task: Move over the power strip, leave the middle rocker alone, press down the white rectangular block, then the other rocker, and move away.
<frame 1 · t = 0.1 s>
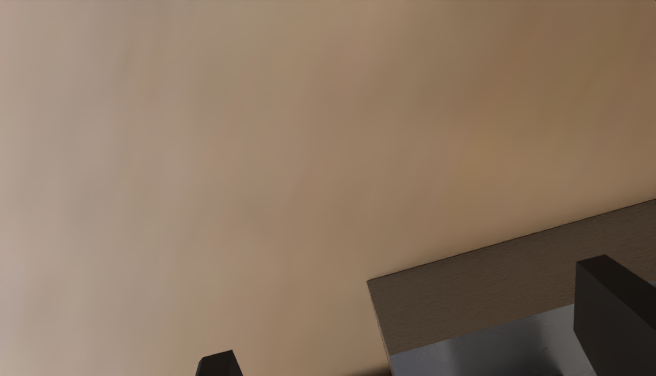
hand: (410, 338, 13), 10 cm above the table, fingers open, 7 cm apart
power strip: (619, 308, 29), on the table
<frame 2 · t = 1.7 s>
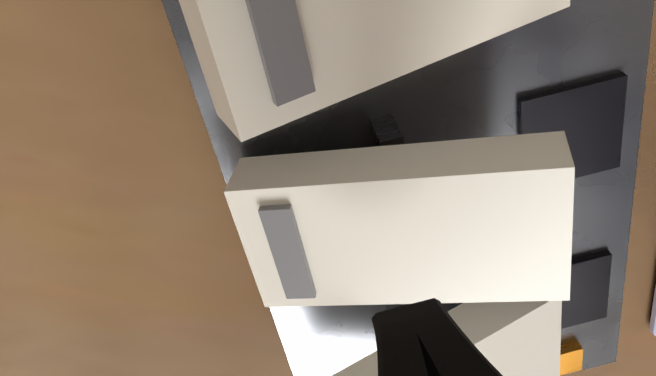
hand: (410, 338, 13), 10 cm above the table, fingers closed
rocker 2: (400, 229, 16), point 6 cm above the table, hinge at 18.0°
power strip: (405, 104, 21), on the table
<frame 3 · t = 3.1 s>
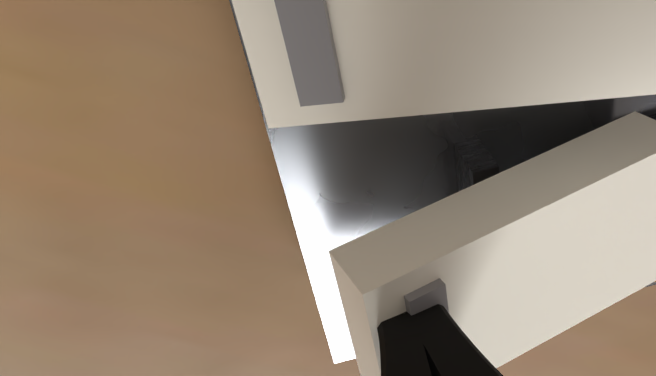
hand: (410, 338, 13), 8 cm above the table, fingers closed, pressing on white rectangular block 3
white rectangular block 3: (520, 265, 14), point 6 cm above the table, hinge at -16.6°, touching gripper
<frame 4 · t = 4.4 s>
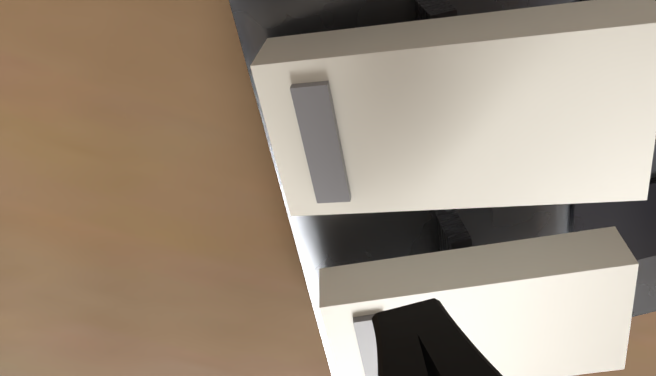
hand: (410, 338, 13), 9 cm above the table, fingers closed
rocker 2: (451, 118, 14), point 6 cm above the table, hinge at 18.0°
white rectangular block 3: (473, 321, 17), point 6 cm above the table, hinge at 8.1°
power strip: (443, 12, 19), on the table
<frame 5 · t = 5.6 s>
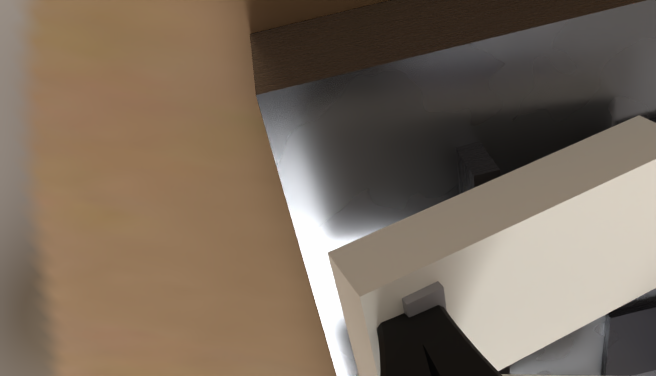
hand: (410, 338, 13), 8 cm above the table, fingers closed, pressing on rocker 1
power strip: (487, 279, 23), on the table
rocker 1: (521, 269, 14), point 6 cm above the table, hinge at -15.5°, touching gripper
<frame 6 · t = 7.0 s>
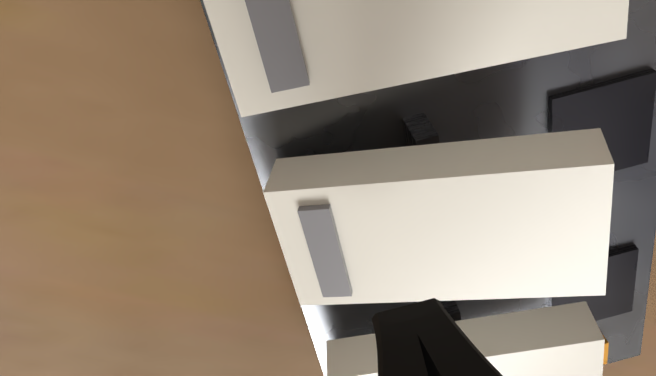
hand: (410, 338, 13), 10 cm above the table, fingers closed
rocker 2: (436, 227, 16), point 6 cm above the table, hinge at 18.0°
power strip: (431, 103, 21), on the table
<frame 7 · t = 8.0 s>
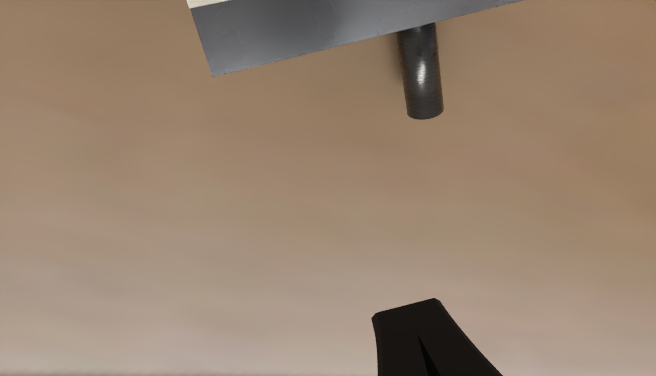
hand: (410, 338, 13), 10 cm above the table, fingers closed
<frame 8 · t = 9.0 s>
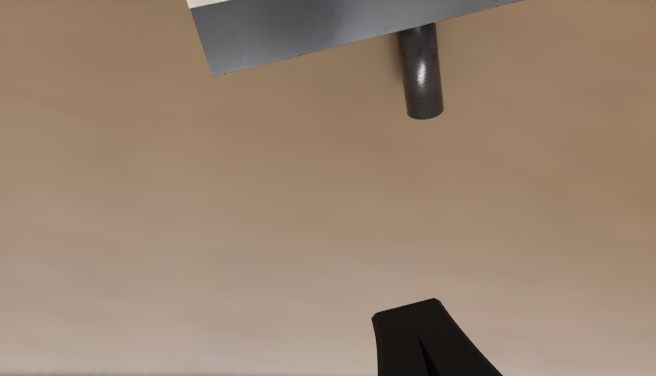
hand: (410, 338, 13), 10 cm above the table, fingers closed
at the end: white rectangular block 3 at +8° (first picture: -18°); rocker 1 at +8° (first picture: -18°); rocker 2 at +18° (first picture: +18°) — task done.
